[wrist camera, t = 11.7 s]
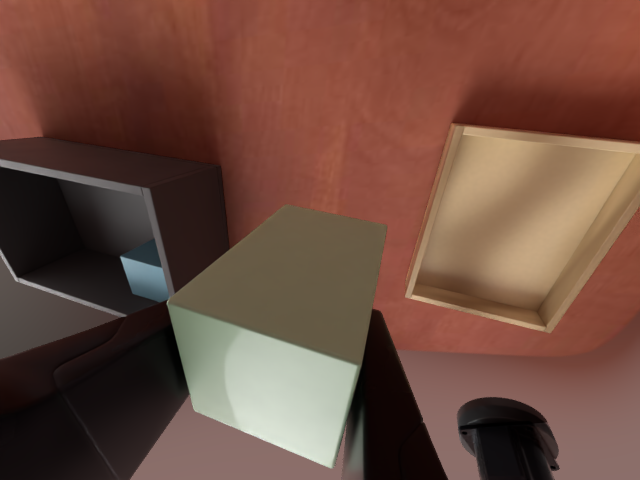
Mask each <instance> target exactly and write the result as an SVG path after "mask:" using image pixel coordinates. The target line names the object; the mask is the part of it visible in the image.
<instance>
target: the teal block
mask: <svg viewBox="0 0 640 480" xmlns="http://www.w3.org/2000/svg"><path fill="white" fill-rule="evenodd" d="M120 258H121V261H122V264H123V267H124V270H125V273H126V276H127V279H128V282H129V285H130V288H131V290H132V293H133V294H135V295H138V296H142V297H145V298H148V299H151V300H154V301H157V302H162V301H165V300H167V299H169V298H170V297H169V293H168V289H167V285H166V281H165V277H164V273H163V269H162V265H161V261H160V257H159V254H158V250H157V246H156V242H155V238H154V239H152V240H150V241H148V242H146V243H144V244H143V245H141V246H139V247H137V248H135V249H133V250H131V251H129V252H127V253H125V254H123V255H121V256H120Z"/></svg>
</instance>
